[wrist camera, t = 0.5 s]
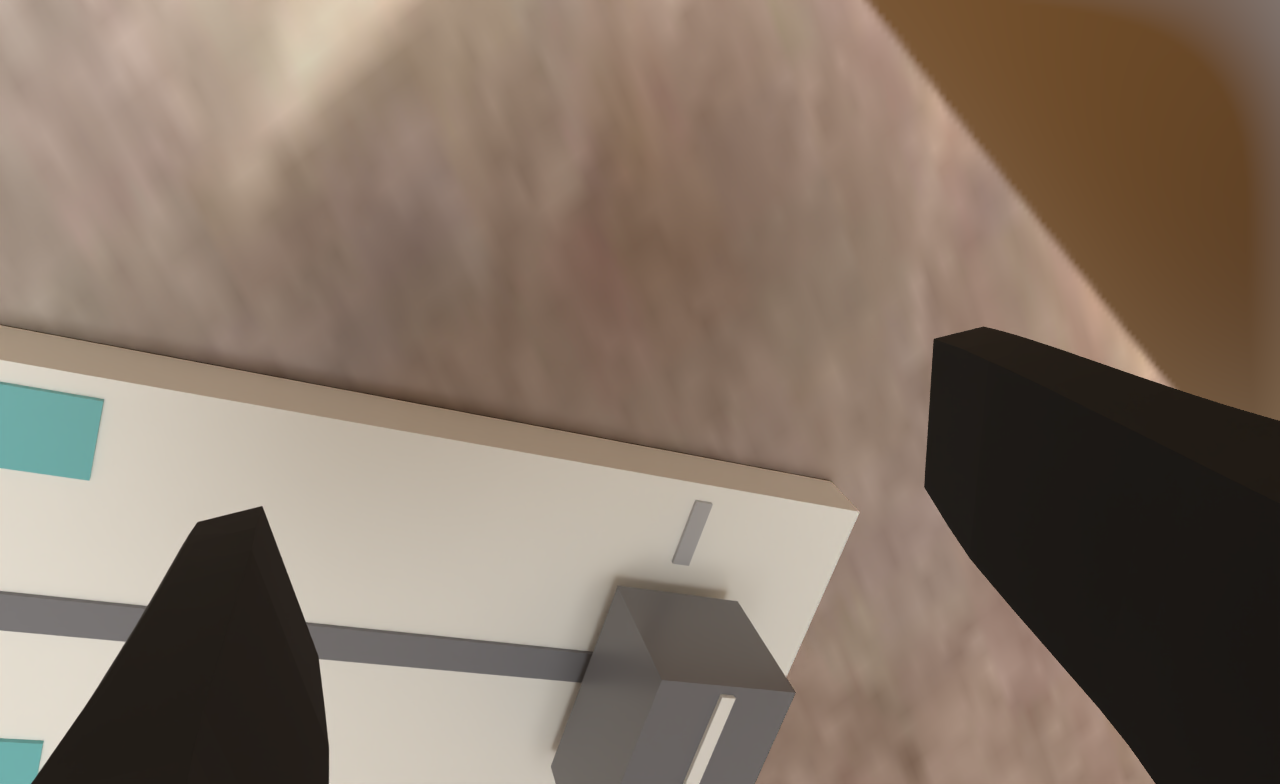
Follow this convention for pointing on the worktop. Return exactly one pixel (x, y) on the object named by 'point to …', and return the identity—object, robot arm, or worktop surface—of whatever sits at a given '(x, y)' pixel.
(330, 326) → the worktop surface
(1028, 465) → the robot arm
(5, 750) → the mixer panel
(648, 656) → the fader
